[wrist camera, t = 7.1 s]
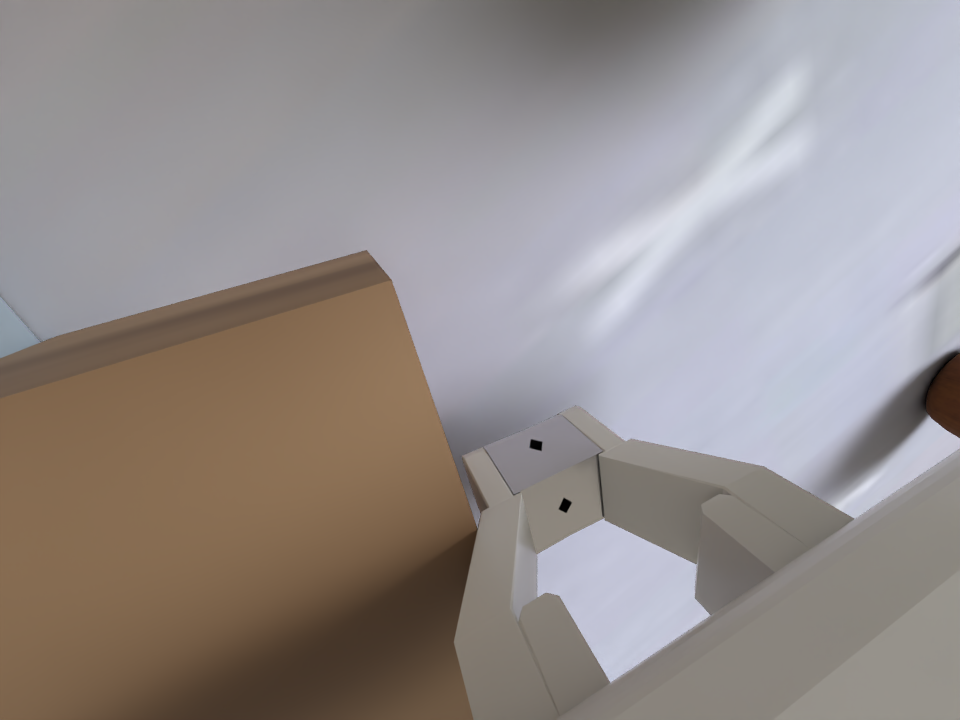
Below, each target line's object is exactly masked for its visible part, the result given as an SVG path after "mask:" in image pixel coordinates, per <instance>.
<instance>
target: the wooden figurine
mask: <svg viewBox="0 0 960 720" xmlns="http://www.w3.org/2000/svg"><path fill="white" fill-rule="evenodd" d="M926 411H927V413H928V414H929V415H930V417H931V418H932V419H933V420H934V421H936V422H937V423H938V424H939V425H941V426H942V427H943V428H944V429H946V430H947V431H949V432H950V433H952V434H954V435H956V436H957V437H959V438H960V353H959V354H958V355H957V356H955V357H954V358H953V359H951V360H950V361H949V362H948V363H947V364H946V365H945V366H944V367H943V368H942V369H941V370H940V372H939V373H938V374H937V376H936V377H935V379H934V380H933V382H932V384H931V385H930V388H929V390H928V393H927V399H926Z"/></svg>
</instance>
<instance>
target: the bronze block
mask: <svg viewBox="0 0 960 720" xmlns="http://www.w3.org/2000/svg"><path fill="white" fill-rule="evenodd" d="M477 530H478V529H477V526H476V523H475V520H474V517H473V514H472V512H471V509H470V506H469V503H468V500H467V497H466V494H465V491H464V488H463V485H462V483H461V480H460V477H459V474H458V471H457V468H456V465H455V462H454V459H453V457H452V454H451V451H450V448H449V445H448V442H447V439H446V436H445V433H444V430H443V428H442V425H441V422H440V419H439V416H438V413H437V410H436V407H435V404H434V402H433V399H432V396H431V393H430V390H429V387H428V384H427V381H426V378H425V375H424V373H423V370H422V367H421V364H420V361H419V358H418V355H417V352H416V349H415V346H414V344H413V341H412V338H411V335H410V332H409V329H408V326H407V323H406V320H405V318H404V315H403V312H402V309H401V306H400V303H399V300H398V297H397V294H396V291H395V289H394V286H393V283H392V280H391V279H390V278H389V276H388V275H387V274H386V273H385V272H384V270H383V269H382V268H381V267H380V266H379V264H378V263H377V262H376V261H375V260H374V258H373V257H372V256H371V255H370V254H369V253H368V251H367V250H366V251H362V252H358V253H355V254H351V255H348V256H344V257H340V258H337V259H333V260H330V261H326V262H322V263H319V264H315V265H312V266H308V267H304V268H301V269H297V270H294V271H290V272H286V273H283V274H279V275H276V276H272V277H268V278H265V279H261V280H257V281H254V282H250V283H247V284H243V285H239V286H236V287H232V288H229V289H225V290H221V291H218V292H214V293H211V294H207V295H203V296H200V297H196V298H193V299H189V300H185V301H182V302H178V303H175V304H171V305H167V306H164V307H160V308H157V309H153V310H149V311H146V312H142V313H139V314H135V315H131V316H128V317H124V318H120V319H117V320H113V321H110V322H106V323H102V324H99V325H95V326H92V327H88V328H84V329H81V330H77V331H74V332H70V333H66V334H63V335H59V336H56V337H53V338H51V339H48V340H46V341H43V342H41V343H38V344H36V345H33V346H30V347H28V348H25V349H23V350H20V351H18V352H15V353H12V354H10V355H7V356H5V357H2V358H0V720H473V716H472V712H471V708H470V704H469V700H468V696H467V692H466V688H465V684H464V680H463V676H462V672H461V668H460V664H459V660H458V656H457V652H456V649H455V645H454V639H455V634H456V629H457V624H458V620H459V615H460V610H461V605H462V601H463V596H464V591H465V586H466V582H467V577H468V572H469V567H470V563H471V558H472V553H473V549H474V544H475V539H476V534H477Z"/></svg>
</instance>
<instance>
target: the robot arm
mask: <svg viewBox="0 0 960 720" xmlns="http://www.w3.org/2000/svg"><path fill="white" fill-rule="evenodd" d="M462 461H463V464H464V467H465V470H466V473H467V477H468V480H469V483H470V486H471V489H472V492H473V495H474V497H475V500H476V503H477V505H478V508H479V510H480V513H481V515H480V520H479V525H478V530H477V534H476V539H475V544H474V549H473V553H472V558H471V563H470V567H469V572H468V577H467V582H466V586H465V591H464V596H463V601H462V605H461V610H460V615H459V620H458V624H457V629H456V634H455V639H454V645H455V649H456V652H457V656H458V660H459V664H460V668H461V672H462V676H463V680H464V684H465V688H466V692H467V696H468V700H469V704H470V708H471V712H472V716H473V720H960V449H958V450H957V451H955V452H954V453H952V454H951V455H949V456H948V457H946V458H945V459H943V460H942V461H940V462H939V463H937V464H936V465H935V466H933V467H932V468H930V469H929V470H927V471H926V472H924V473H923V474H921V475H920V476H918V477H917V478H915V479H914V480H912V481H911V482H909V483H908V484H906V485H905V486H903V487H902V488H900V489H899V490H897V491H896V492H894V493H893V494H891V495H890V496H888V497H887V498H885V499H884V500H882V501H881V502H879V503H878V504H876V505H875V506H873V507H872V508H870V509H869V510H867V511H866V512H864V513H863V514H861V515H860V516H858V517H857V518H855V519H854V518H852V517H850V516H849V515H847V514H845V513H843V512H842V511H840V510H838V509H837V508H835V507H833V506H831V505H830V504H828V503H826V502H824V501H823V500H821V499H819V498H818V497H816V496H814V495H812V494H811V493H809V492H807V491H805V490H804V489H802V488H800V487H799V486H797V485H795V484H793V483H792V482H790V481H788V480H786V479H785V478H783V477H781V476H780V475H778V474H776V473H774V472H773V471H771V470H769V469H767V468H766V467H764V466H759V465H754V464H749V463H745V462H740V461H735V460H730V459H726V458H721V457H716V456H711V455H706V454H702V453H697V452H692V451H687V450H683V449H678V448H673V447H668V446H664V445H659V444H654V443H649V442H644V441H640V440H635V439H630V440H627V441H625V440H623V439H622V438H621V437H619V436H618V435H617V434H615V433H614V432H613V431H611V430H610V429H609V428H607V427H606V426H605V425H603V424H602V423H601V422H600V421H598V420H597V419H596V418H594V417H593V416H592V415H590V414H589V413H588V412H586V411H585V410H584V409H582V408H581V407H579V406H574V407H571V408H569V409H567V410H565V411H563V412H561V413H559V414H557V415H555V416H553V417H551V418H549V419H546V420H544V421H542V422H540V423H538V424H535V425H533V426H531V427H529V428H526V429H524V430H522V431H519V432H517V433H515V434H512V435H510V436H507V437H505V438H502V439H500V440H498V441H495V442H493V443H490V444H488V445H486V446H483V448H479V449H477V450H474V451H472V452H470V453H467V454H465V455H462ZM603 518H605V521H608V522H610V523H612V524H614V525H616V526H618V527H620V528H622V529H624V530H626V531H628V532H630V533H632V534H635V535H637V536H639V537H641V538H643V539H645V540H647V541H649V542H651V543H653V544H655V545H657V546H659V547H662V548H664V549H666V550H668V551H670V552H672V553H674V554H676V555H678V556H680V557H682V558H684V559H686V560H689V561H691V562H693V563H695V564H697V567H696V580H695V599H696V600H697V601H698V602H699V603H700V604H701V605H702V606H703V607H704V608H705V609H706V611H707V612H708V613H709V614H710V615H711V616H709V617H708V618H706V619H705V620H703V621H702V622H700V623H699V624H697V625H696V626H694V627H693V628H691V629H690V630H688V631H687V632H685V633H684V634H682V635H681V636H679V637H678V638H676V639H675V640H673V641H672V642H670V643H669V644H667V645H666V646H665V647H663V648H662V649H660V650H659V651H657V652H656V653H654V654H653V655H651V656H650V657H648V658H647V659H645V660H644V661H642V662H641V663H639V664H638V665H636V666H635V667H633V668H632V669H630V670H629V671H627V672H626V673H624V674H623V675H621V676H620V677H618V678H617V679H615V680H614V681H612V682H611V683H610V681H609V680H608V678H607V676H606V675H605V673H604V671H603V670H602V668H601V666H600V664H599V663H598V661H597V659H596V658H595V656H594V654H593V653H592V651H591V649H590V647H589V646H588V644H587V642H586V641H585V639H584V637H583V636H582V634H581V632H580V630H579V629H578V627H577V625H576V624H575V622H574V620H573V619H572V617H571V615H570V613H569V612H568V610H567V608H566V607H565V605H564V603H563V602H562V600H561V598H560V596H557V595H554V594H550V593H545V594H543V595H541V596H540V597H538V598H537V554H538V553H540V552H542V551H543V550H545V549H547V548H549V547H550V546H552V545H554V544H556V543H557V542H559V541H561V540H563V539H564V538H566V537H568V536H569V535H571V534H573V533H575V532H577V531H579V530H581V529H583V528H585V527H587V526H589V525H591V524H593V523H595V522H597V521H599V520H601V519H603Z"/></svg>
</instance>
